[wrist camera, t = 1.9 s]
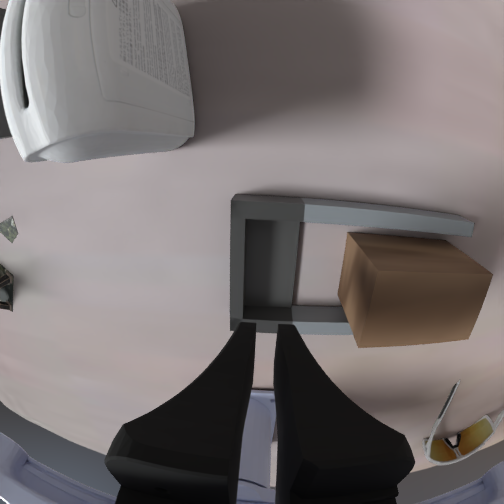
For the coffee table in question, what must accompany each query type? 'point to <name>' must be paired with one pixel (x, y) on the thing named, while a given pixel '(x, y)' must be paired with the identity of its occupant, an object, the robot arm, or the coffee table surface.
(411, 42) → the coffee table surface
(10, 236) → the eiffel tower figurine
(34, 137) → the photo printer
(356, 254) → the walnut block
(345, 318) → the channel
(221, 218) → the coffee table surface
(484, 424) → the sunglasses
